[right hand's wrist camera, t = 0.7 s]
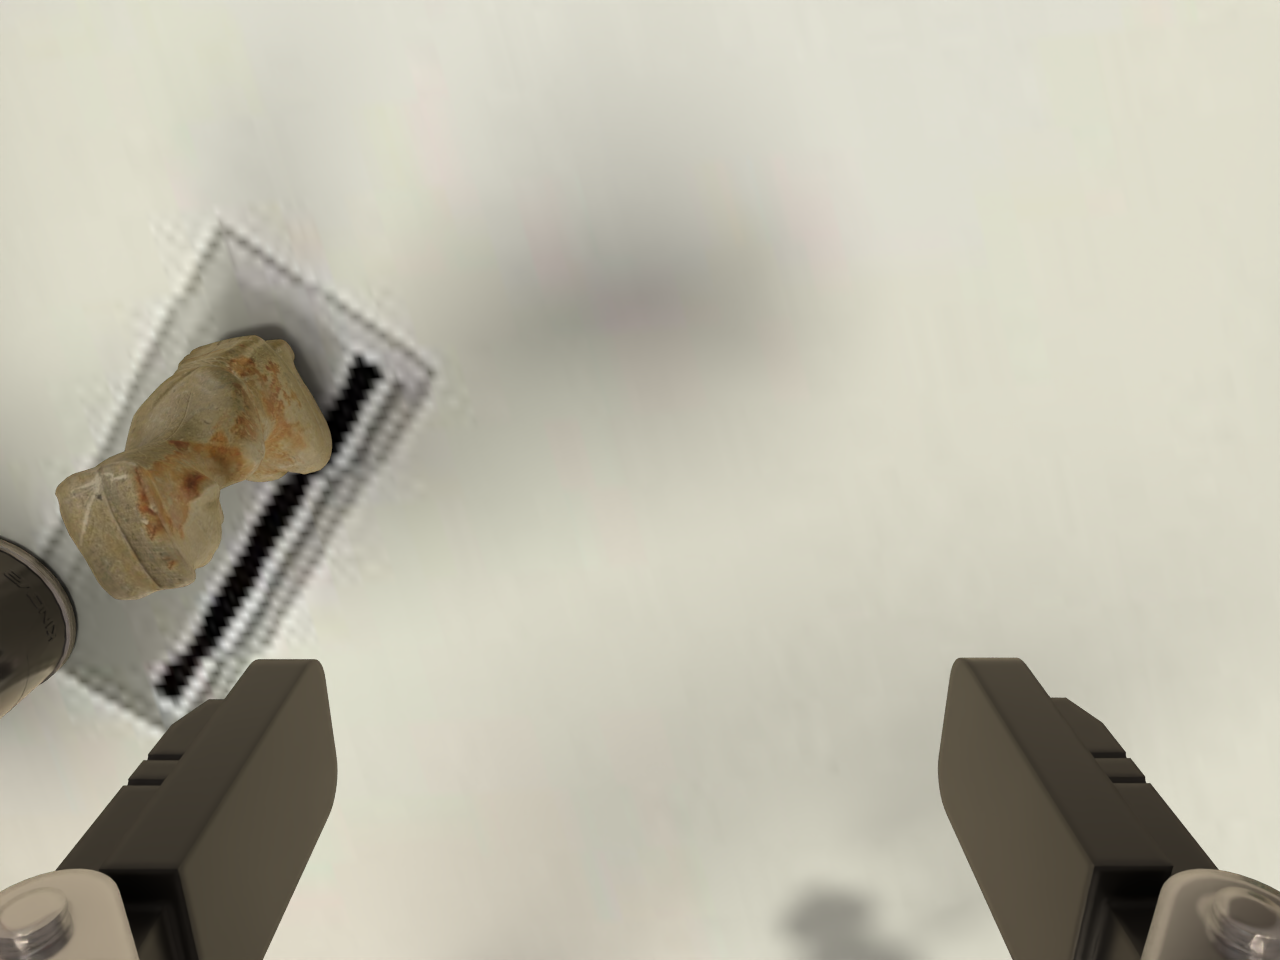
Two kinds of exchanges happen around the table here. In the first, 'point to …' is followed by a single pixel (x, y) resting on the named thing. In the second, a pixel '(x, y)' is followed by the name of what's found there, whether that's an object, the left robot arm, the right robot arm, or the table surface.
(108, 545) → the sculpture
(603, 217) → the table surface
